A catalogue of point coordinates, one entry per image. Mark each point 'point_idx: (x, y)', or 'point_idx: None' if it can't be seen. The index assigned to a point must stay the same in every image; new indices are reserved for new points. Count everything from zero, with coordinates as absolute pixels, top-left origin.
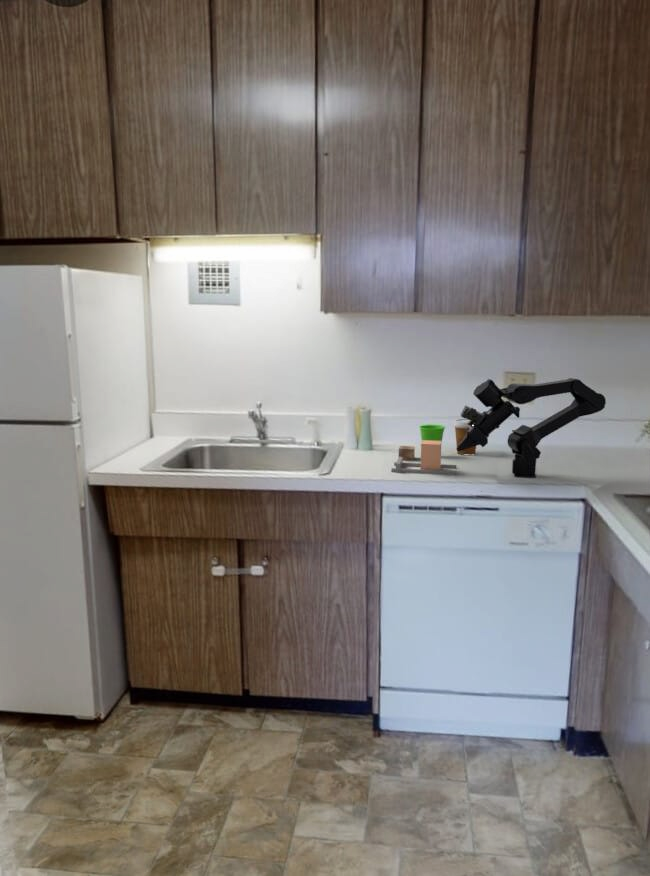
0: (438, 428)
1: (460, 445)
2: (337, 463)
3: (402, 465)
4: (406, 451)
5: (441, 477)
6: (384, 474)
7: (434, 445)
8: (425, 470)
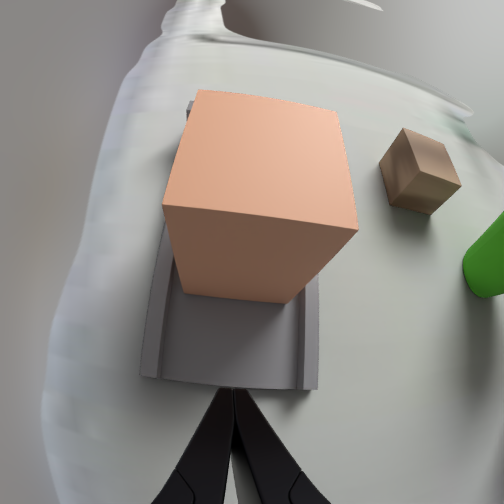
0: None
1: (197, 433)
2: (313, 57)
3: None
4: (407, 155)
5: None
6: None
7: (176, 164)
8: None
